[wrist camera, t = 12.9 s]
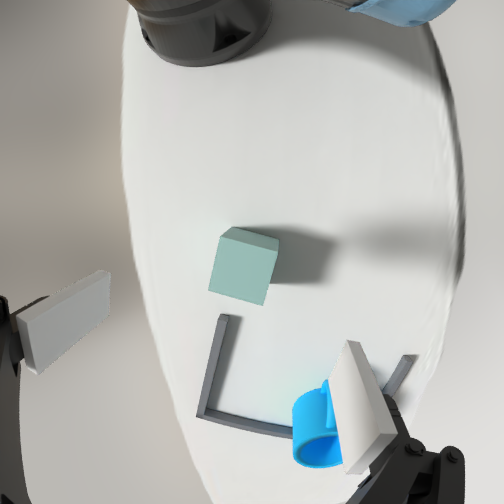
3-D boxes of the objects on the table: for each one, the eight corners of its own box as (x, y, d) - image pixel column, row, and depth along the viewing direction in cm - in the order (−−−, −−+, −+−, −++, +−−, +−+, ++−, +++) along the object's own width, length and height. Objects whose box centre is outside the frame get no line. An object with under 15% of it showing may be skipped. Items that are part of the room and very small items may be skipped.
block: (232, 226, 29) (220, 236, 23) (278, 239, 29) (278, 252, 23) (221, 270, 30) (208, 290, 25) (266, 283, 30) (262, 305, 24)
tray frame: (220, 313, 32) (217, 319, 30) (408, 356, 31) (412, 362, 29) (198, 410, 36) (195, 416, 34) (354, 438, 35) (356, 445, 33)
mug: (345, 424, 34) (353, 464, 26) (291, 427, 35) (290, 469, 27) (358, 362, 31) (374, 404, 24) (295, 365, 32) (297, 411, 24)
